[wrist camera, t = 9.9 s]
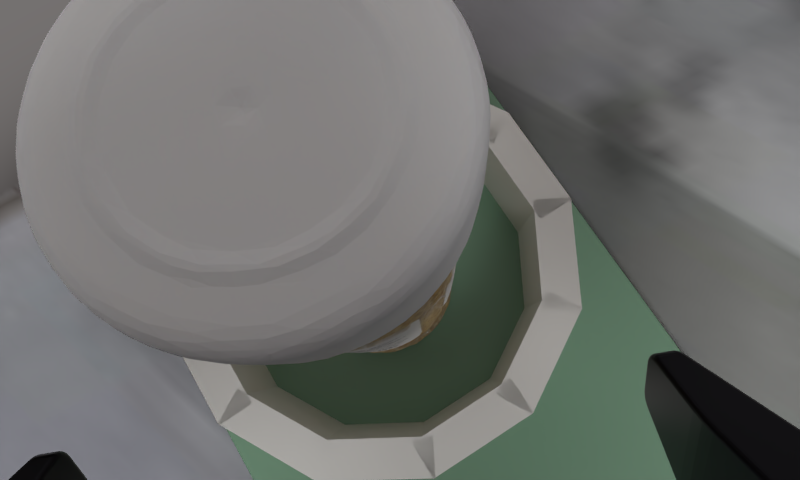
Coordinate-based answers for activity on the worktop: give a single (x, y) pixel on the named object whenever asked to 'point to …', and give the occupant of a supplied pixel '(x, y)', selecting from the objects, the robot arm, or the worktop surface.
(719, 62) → the worktop surface
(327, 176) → the sprinkles bottle
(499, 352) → the practice green
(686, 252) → the worktop surface
